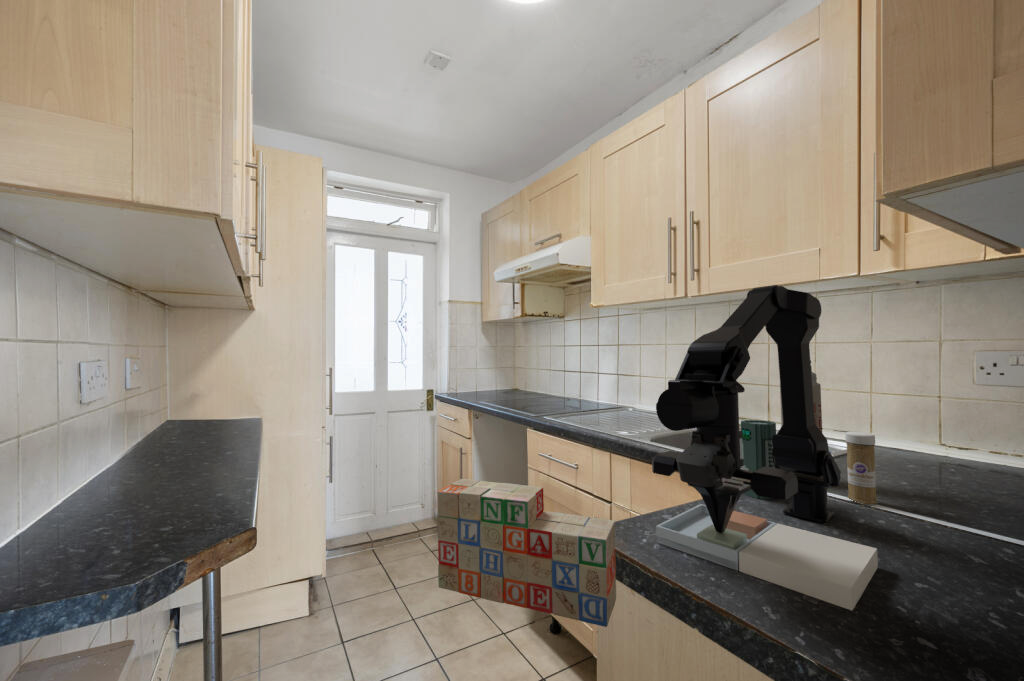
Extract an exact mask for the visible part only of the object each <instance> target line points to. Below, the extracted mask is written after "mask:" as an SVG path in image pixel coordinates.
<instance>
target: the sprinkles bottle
mask: <svg viewBox="0 0 1024 681" xmlns="http://www.w3.org/2000/svg"><path fill="white" fill-rule="evenodd" d="M845 444H846V462H847V470H846V471H847V486H848V496H847V499H848V498H849V499H851V500H853V501H856V502H859V503H858V504H860V503H863V504H862V505H865V504H874V505H877V504H878V500H877V473H876V472H877V471H876V458H875V457H876V456H875V446H876V436H875V434H873V433H869V432H865V431H864V432H863V431H846V432H845ZM849 499H848V500H849ZM851 500H850V501H851ZM853 501H852V502H853ZM856 502H855V503H856ZM876 503H877V504H876Z"/></svg>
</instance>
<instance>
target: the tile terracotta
mask: <svg viewBox="0 0 1024 681" xmlns="http://www.w3.org/2000/svg"><path fill="white" fill-rule="evenodd" d="M767 521H768V518H765V517H761V516H755V515H752V514H748V513H744V512H740V511H736V510H733V513H732V515H731V517H730V520H729V522H728V524H727V527H726V529H729V530H733V531H737V532H740V533H744V534H747V539H751V538H752V537H754V536H755V535H757V534H758V533H759V532H761V531H762V530H763V529H765V528H766V527H767Z"/></svg>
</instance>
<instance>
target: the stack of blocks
mask: <svg viewBox="0 0 1024 681" xmlns="http://www.w3.org/2000/svg"><path fill="white" fill-rule="evenodd" d="M544 505H545V504H544V487H543V486H537V485H536V486H535V485H525V484H524V485H522V484H516V483H509V482H495V481H486V480H485V481H484V480H477V479H469V478H460V479H458V480H456V481H453V482H452V483H450V484H449V485H447V486H445V487H443V488H441V489H439V490H438V491H437V515H436V516H437V519H436V520H437V540H438V541H437V547H438V548H437V550H438V551H437V552H438V553H437V554H438V555H437V556H438V557H437V558H438V560H437V561H438V565H437V566H438V568H437V571H438V573H437V574H438V576H437V578H438V581H437V582H438V588H440V589H443V590H444V589H445V590H447V591H452V592H456V593H459V594H462V595H466V596H469V597H470V596H471V597H475V598H479V599H484V600H485V601H486V600H487V601H490V602H495V603H499V604H506V605H512V606H515V607H520V608H524V609H528V610H533V611H536V612H537V611H538V612H541V613H546V614H551V615H554V616H558V617H562V618H567V619H570V620H575V621H580V622H582V623H587V624H590V625H596V626H600V627H604V628H606V627H607V628H608V626H609V622H610V619H611V616H612V613H613V611H614V607H615V604H616V601H617V580H616V579H617V577H616V572H617V566H616V564H617V563H616V521H615V520H613V519H604V518H597V517H590V516H585V515H577V514H569V513H565V512H563V513H562V512H556V511H555V512H554V511H544V510H545V506H544Z"/></svg>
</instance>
